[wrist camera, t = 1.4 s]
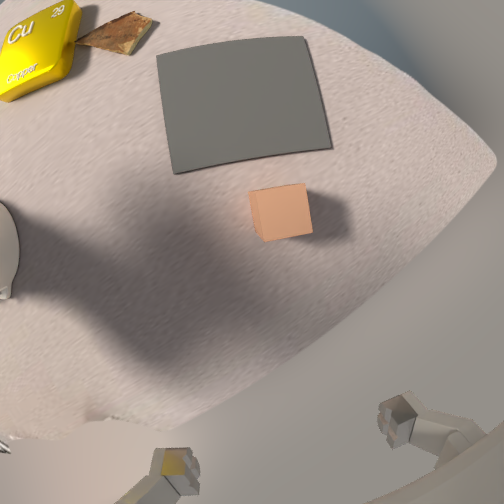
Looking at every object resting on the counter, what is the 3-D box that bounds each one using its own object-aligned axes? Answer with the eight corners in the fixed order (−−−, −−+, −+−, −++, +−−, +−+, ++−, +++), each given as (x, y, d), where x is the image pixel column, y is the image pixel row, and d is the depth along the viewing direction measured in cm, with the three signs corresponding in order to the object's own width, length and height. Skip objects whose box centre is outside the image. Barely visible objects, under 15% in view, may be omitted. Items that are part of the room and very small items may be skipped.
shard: (77, 46, 28) (72, 41, 26) (105, 9, 27) (101, 3, 25) (129, 59, 30) (125, 54, 28) (158, 20, 28) (156, 13, 27)
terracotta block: (255, 231, 36) (264, 242, 28) (248, 191, 35) (255, 191, 27) (293, 223, 36) (312, 232, 28) (287, 185, 35) (305, 183, 27)
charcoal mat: (174, 174, 33) (173, 173, 33) (157, 57, 30) (156, 55, 29) (329, 148, 34) (331, 147, 34) (302, 38, 31) (303, 36, 30)
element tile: (4, 106, 28) (-13, 101, 23) (18, 37, 24) (5, 28, 20) (71, 77, 29) (56, 66, 24) (85, 6, 26) (74, -8, 21)
